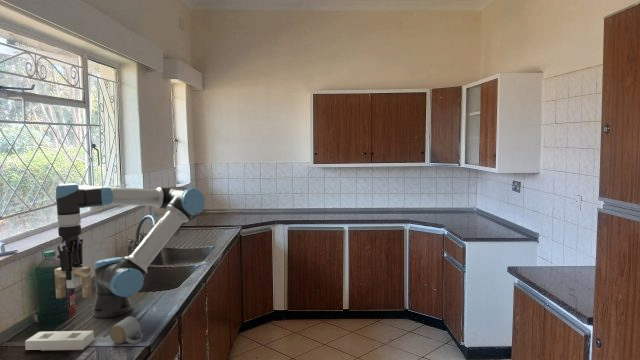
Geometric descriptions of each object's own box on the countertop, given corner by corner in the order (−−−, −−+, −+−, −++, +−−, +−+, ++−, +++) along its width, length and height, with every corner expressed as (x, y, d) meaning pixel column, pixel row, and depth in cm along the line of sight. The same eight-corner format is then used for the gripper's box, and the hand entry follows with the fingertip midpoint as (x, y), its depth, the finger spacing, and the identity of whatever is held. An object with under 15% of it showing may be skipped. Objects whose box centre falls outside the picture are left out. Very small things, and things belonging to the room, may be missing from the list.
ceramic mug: (108, 343, 163) (107, 323, 162) (124, 334, 171) (123, 314, 170) (132, 347, 160) (131, 326, 159) (148, 338, 168) (147, 318, 167)
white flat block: (94, 339, 167) (93, 330, 166) (82, 349, 159) (81, 340, 158) (39, 340, 167) (39, 331, 166) (25, 350, 159) (25, 341, 158)
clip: (92, 295, 173) (90, 266, 173) (87, 297, 170) (86, 268, 170) (60, 295, 174) (58, 267, 173) (56, 298, 171) (54, 269, 170)
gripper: (71, 221, 178) (75, 280, 180) (46, 229, 162) (51, 293, 164) (90, 221, 178) (94, 279, 180) (67, 228, 162) (71, 293, 164)
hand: (73, 286), depth 172 cm, fingers closed on clip, 3 cm apart
